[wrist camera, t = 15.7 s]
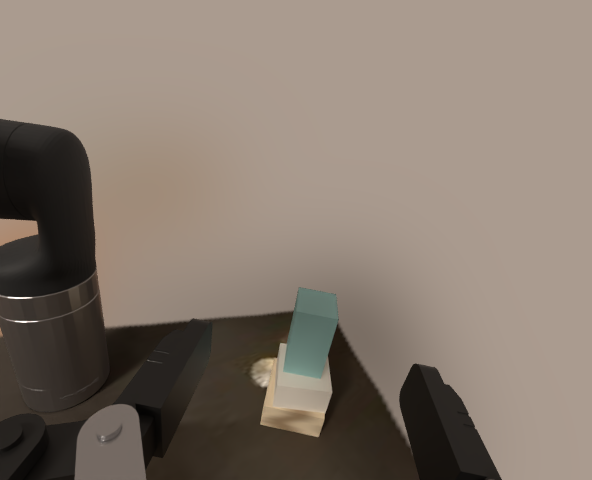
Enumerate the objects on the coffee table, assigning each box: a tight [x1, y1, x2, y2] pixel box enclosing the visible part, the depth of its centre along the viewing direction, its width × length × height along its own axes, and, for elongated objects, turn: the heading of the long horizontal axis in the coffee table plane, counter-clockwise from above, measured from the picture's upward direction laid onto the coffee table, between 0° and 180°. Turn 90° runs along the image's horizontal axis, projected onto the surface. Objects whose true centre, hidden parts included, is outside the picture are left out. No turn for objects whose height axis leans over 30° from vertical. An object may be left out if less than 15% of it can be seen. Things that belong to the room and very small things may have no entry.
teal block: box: [283, 288, 339, 379], centre depth 36 cm, size 5×5×10 cm
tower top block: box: [273, 343, 332, 413], centre depth 38 cm, size 7×7×4 cm
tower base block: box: [260, 358, 325, 437], centre depth 40 cm, size 8×8×4 cm
